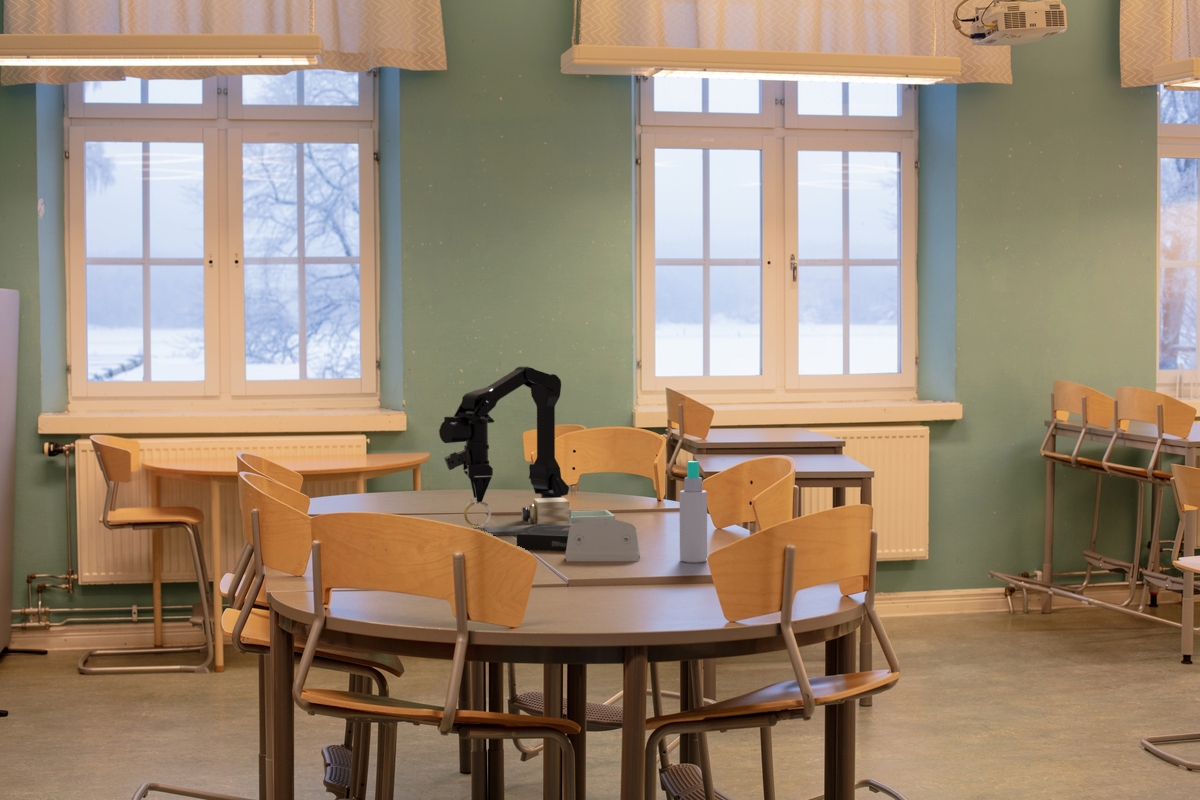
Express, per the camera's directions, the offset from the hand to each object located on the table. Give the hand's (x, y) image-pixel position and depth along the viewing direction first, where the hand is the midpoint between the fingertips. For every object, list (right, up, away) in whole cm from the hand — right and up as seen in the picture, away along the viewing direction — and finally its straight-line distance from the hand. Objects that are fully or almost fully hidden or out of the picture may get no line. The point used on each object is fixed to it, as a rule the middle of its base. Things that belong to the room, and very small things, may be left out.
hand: (477, 499), depth 310 cm
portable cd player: (+23, -9, -27) cm, 36 cm away
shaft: (+18, -6, -6) cm, 20 cm away
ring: (0, -8, 0) cm, 8 cm away
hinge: (+33, -10, -45) cm, 57 cm away
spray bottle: (+53, -10, -49) cm, 73 cm away
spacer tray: (+29, -7, +7) cm, 31 cm away
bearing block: (+16, -7, -7) cm, 19 cm away
